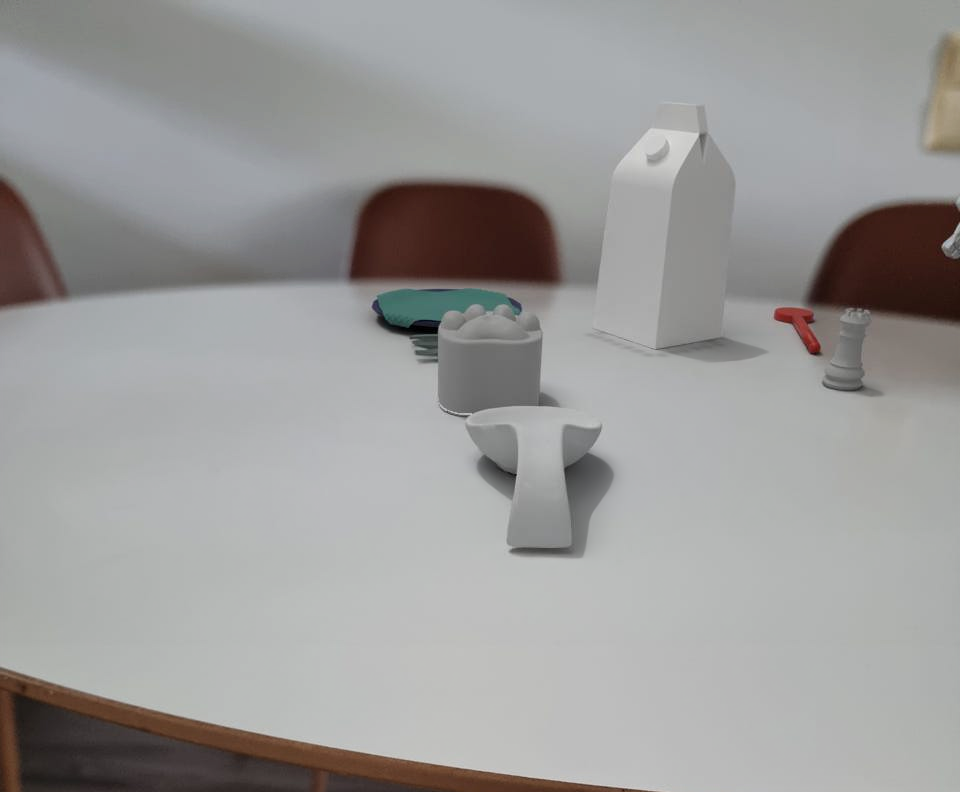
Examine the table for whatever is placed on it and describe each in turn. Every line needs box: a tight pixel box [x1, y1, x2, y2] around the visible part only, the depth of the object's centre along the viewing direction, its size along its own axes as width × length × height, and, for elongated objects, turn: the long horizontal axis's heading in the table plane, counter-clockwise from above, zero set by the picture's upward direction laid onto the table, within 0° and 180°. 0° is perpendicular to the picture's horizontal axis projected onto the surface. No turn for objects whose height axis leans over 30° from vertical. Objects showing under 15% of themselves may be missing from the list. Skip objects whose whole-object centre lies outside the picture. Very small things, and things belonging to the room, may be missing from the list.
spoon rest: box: [464, 405, 603, 549], centre depth 79 cm, size 24×12×7 cm, turn 0°
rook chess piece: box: [821, 307, 873, 391], centre depth 106 cm, size 4×4×8 cm
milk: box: [591, 101, 736, 350], centre depth 119 cm, size 12×12×26 cm
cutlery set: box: [371, 287, 523, 357], centre depth 125 cm, size 20×30×2 cm, turn 10°
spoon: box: [773, 306, 822, 355], centre depth 127 cm, size 21×5×1 cm, turn 172°
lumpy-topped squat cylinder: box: [437, 304, 544, 417], centre depth 99 cm, size 10×13×9 cm
